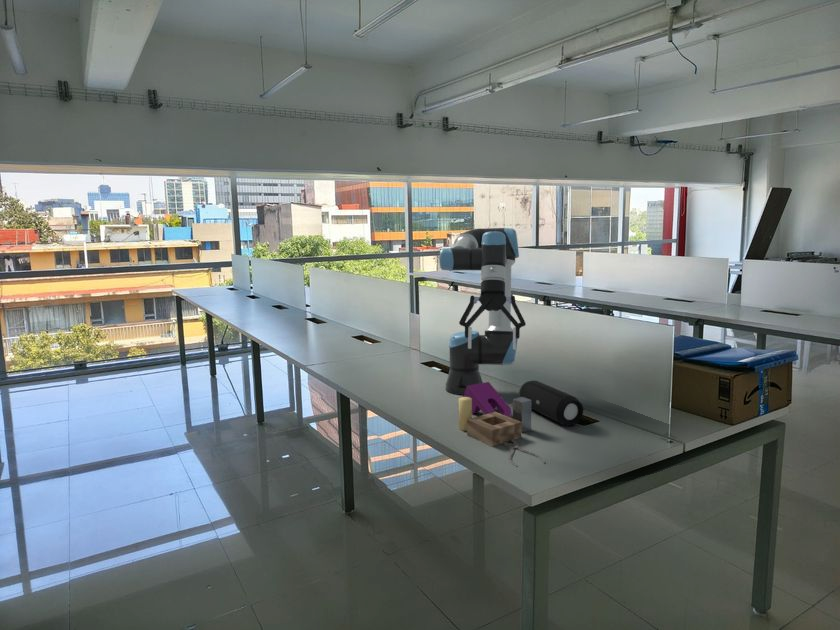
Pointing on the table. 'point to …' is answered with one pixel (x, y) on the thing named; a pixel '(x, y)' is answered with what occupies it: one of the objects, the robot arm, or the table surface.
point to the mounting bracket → (486, 399)
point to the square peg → (522, 412)
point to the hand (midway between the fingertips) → (491, 349)
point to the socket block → (494, 428)
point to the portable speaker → (552, 402)
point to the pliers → (516, 446)
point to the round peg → (464, 412)
